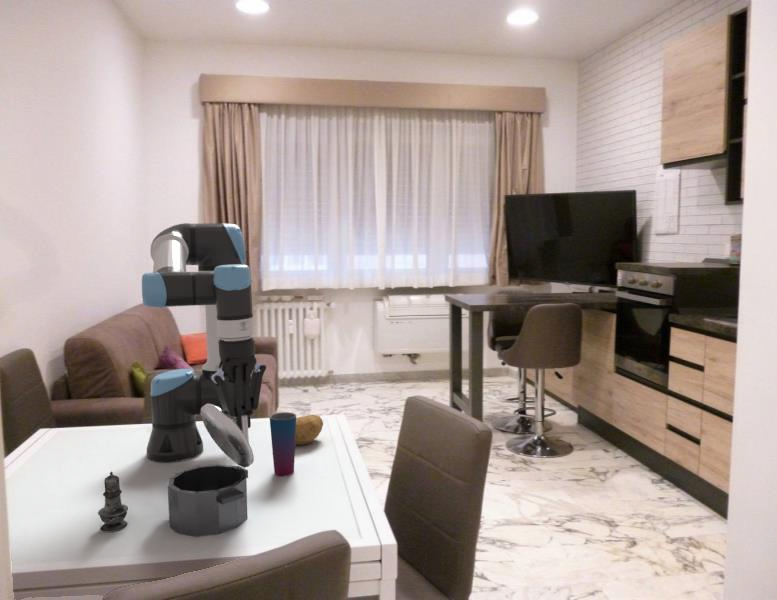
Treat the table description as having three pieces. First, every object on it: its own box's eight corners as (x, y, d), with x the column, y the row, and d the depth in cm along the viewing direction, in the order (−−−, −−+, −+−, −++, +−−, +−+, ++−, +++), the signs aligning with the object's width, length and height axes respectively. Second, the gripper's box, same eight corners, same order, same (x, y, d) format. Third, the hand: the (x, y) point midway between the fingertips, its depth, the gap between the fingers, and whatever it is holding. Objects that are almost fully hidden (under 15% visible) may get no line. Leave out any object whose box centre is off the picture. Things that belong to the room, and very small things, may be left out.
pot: (152, 515, 135) (150, 475, 134) (220, 492, 147) (219, 456, 146) (198, 547, 121) (196, 503, 120) (269, 519, 133) (268, 479, 132)
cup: (292, 478, 156) (290, 420, 155) (266, 476, 157) (265, 419, 156) (301, 468, 163) (300, 412, 161) (276, 466, 164) (275, 411, 163)
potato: (332, 439, 186) (331, 413, 185) (298, 452, 175) (298, 425, 174) (309, 433, 192) (308, 408, 191) (275, 445, 181) (274, 419, 180)
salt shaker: (104, 520, 133) (102, 466, 132) (133, 519, 133) (130, 465, 132) (94, 533, 127) (91, 477, 126) (123, 532, 128) (121, 476, 126)
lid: (190, 399, 138) (200, 392, 139) (221, 457, 145) (230, 450, 146) (229, 414, 126) (239, 406, 128) (261, 476, 133) (270, 468, 135)
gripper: (219, 344, 124) (227, 456, 127) (271, 334, 133) (277, 439, 136) (200, 340, 129) (208, 448, 132) (251, 331, 138) (257, 432, 141)
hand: (243, 443), depth 134 cm, fingers closed
